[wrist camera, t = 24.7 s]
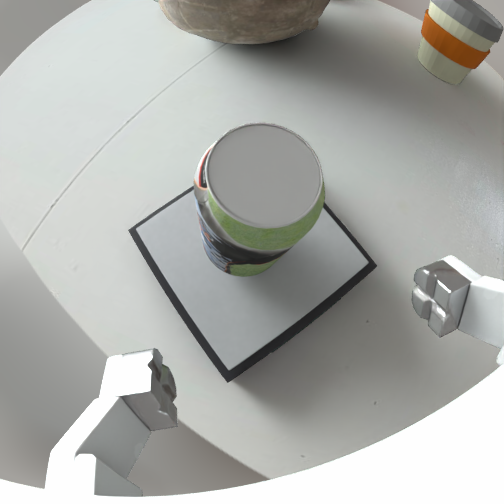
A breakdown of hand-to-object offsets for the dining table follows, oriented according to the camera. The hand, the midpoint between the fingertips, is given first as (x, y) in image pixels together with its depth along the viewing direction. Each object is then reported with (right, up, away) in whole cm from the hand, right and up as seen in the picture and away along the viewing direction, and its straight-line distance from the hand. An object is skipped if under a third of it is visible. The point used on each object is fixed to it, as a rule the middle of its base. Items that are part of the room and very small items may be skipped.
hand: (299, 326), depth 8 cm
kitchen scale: (-2, +2, +18) cm, 18 cm away
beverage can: (-1, +3, +15) cm, 15 cm away
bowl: (-2, +37, +29) cm, 47 cm away
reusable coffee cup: (+31, +34, +28) cm, 54 cm away
